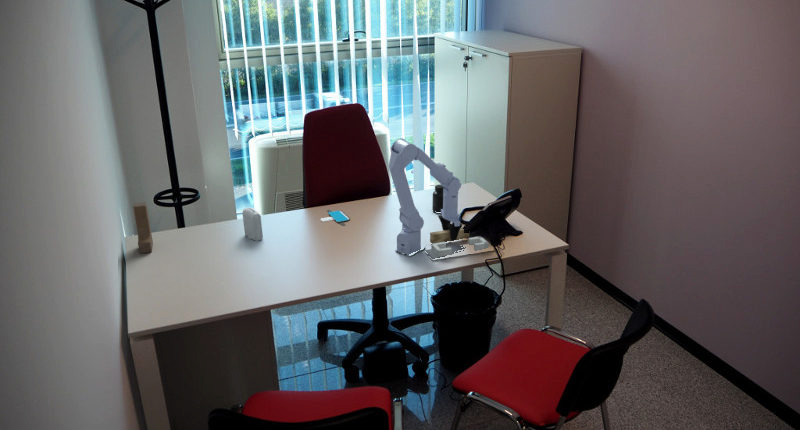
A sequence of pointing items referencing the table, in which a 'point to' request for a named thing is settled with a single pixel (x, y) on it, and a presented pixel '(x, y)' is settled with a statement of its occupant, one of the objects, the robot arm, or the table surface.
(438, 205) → the supplement bottle
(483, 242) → the cradle
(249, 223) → the photo printer
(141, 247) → the wooden block
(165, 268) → the table surface
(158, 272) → the table surface
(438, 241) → the slat
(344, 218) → the phone stand
